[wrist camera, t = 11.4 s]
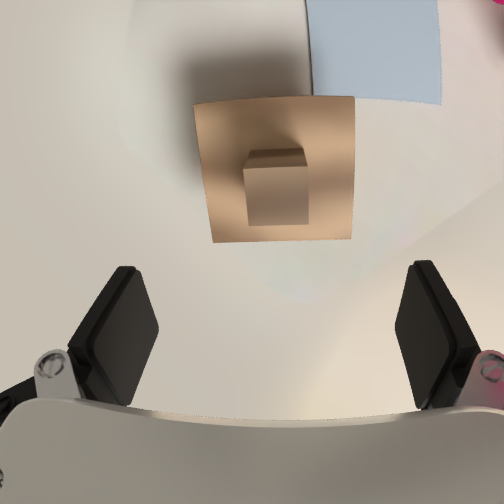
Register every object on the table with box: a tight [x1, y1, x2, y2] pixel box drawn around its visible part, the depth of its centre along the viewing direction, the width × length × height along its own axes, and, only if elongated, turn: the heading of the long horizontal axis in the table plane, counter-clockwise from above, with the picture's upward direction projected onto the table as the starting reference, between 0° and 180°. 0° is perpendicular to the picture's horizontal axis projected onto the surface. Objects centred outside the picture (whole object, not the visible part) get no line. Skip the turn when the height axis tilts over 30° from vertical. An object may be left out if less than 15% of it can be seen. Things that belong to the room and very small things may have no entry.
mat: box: [306, 0, 442, 105], centre depth 23 cm, size 13×13×1 cm
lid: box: [193, 95, 355, 243], centre depth 23 cm, size 12×12×6 cm
